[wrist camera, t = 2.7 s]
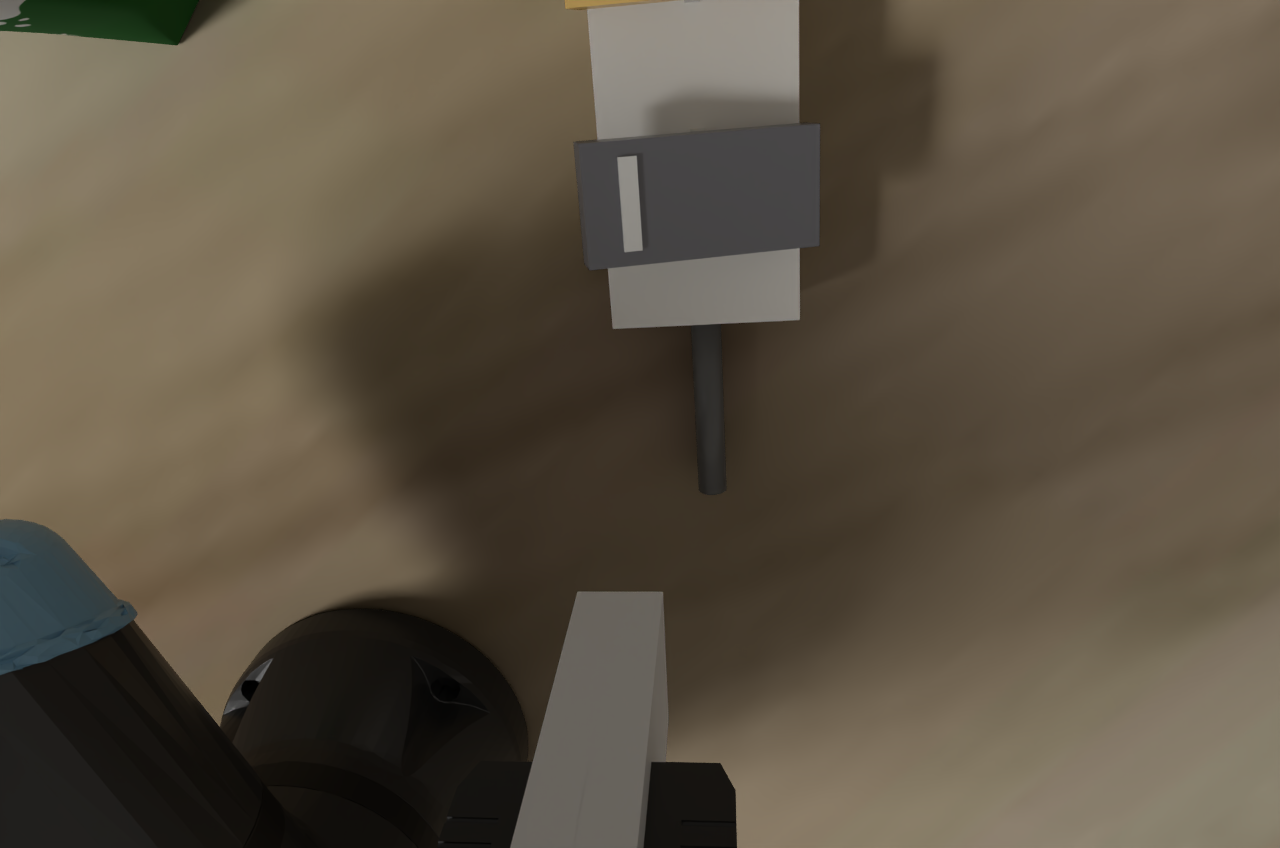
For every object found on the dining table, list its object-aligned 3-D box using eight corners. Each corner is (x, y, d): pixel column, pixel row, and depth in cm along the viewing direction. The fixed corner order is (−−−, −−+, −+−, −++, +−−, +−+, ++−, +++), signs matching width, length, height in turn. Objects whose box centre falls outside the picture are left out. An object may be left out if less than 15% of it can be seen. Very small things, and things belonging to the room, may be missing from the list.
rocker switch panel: (634, 476, 41) (625, 530, 36) (560, -504, 29) (532, -616, 24) (791, 471, 40) (802, 524, 36) (784, -532, 28) (801, -653, 23)
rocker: (584, 263, 31) (589, 271, 30) (573, 141, 29) (579, 144, 28) (806, 240, 32) (821, 246, 31) (806, 122, 31) (821, 123, 29)
